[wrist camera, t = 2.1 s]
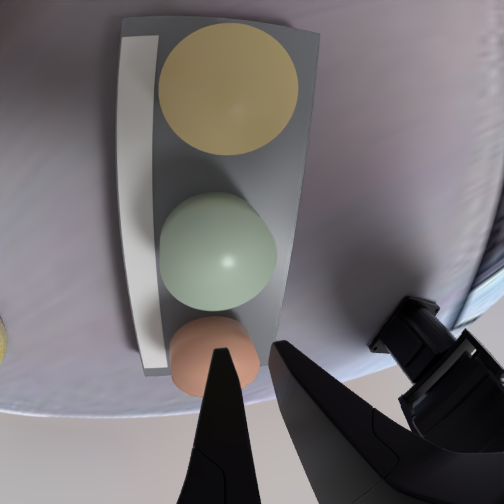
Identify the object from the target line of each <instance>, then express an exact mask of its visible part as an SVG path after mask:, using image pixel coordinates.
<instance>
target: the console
mask: <svg viewBox="0 0 504 504" xmlns="http://www.w3.org/2000/svg"><path fill="white" fill-rule="evenodd" d="M221 23H239V24H245V25H249V26H252V27H255V28H257V29H260V30H262V31H264V32H266V33H267V34H269V35H270V36H272V37H273V38H274V39H275V40H277V41H278V42H279V43H280V44H281V45H282V46H283V47H284V49H285V50H286V51H287V53H288V54H289V56H290V58H291V60H292V62H293V64H294V67H295V69H296V73H297V78H298V98H297V103H296V106H295V110H294V112H293V114H292V117H291V119H290V120H289V122H288V123H287V125H286V126H285V128H284V129H283V130H282V131H281V133H279V134H278V135H277V136H276V137H275V138H274V139H273V140H271V141H270V142H269V143H267V144H266V145H264V146H262V147H260V148H258V149H256V150H254V151H251V152H247V153H244V154H238V155H216V154H211V153H207V152H204V151H201V150H199V149H197V148H194V147H192V146H191V145H189V144H188V143H186V142H185V141H183V140H182V139H181V138H180V137H179V136H178V135H177V134H176V133H175V132H174V131H173V130H172V129H171V127H170V126H169V124H168V123H167V121H166V119H165V117H164V115H163V112H162V109H161V106H160V101H159V79H160V75H161V71H162V68H163V66H164V63H165V61H166V59H167V58H168V56H169V54H170V53H171V52H172V50H173V49H174V48H175V47H176V46H177V45H178V44H179V43H180V42H181V41H182V40H183V39H184V38H186V37H187V36H188V35H190V34H191V33H193V32H195V31H197V30H199V29H201V28H204V27H207V26H210V25H215V24H221ZM319 40H320V34H318V33H314V32H310V31H306V30H301V29H296V28H291V27H286V26H281V25H275V24H269V23H263V22H256V21H248V20H240V19H230V18H219V17H203V16H141V17H126V18H123V19H122V26H121V34H120V44H119V54H118V66H117V81H116V103H115V163H116V186H117V202H118V215H119V226H120V236H121V246H122V254H123V262H124V270H125V277H126V283H127V290H128V296H129V302H130V308H131V314H132V319H133V324H134V329H135V334H136V339H137V344H138V349H139V353H140V358H141V362H142V366H143V370H144V374H145V376H165V375H171V364H170V352H169V345H170V341H171V339H172V337H173V335H174V334H175V333H176V331H177V330H179V329H180V328H181V327H182V326H184V325H185V324H187V323H189V322H191V321H193V320H196V319H199V318H203V317H210V316H221V317H227V318H231V319H234V320H236V321H238V322H240V323H241V324H243V325H244V326H245V327H246V328H247V329H248V331H249V333H250V336H251V338H252V341H253V344H254V347H255V349H256V352H257V355H258V358H259V360H260V366H265V365H268V359H269V354H270V349H271V344H272V343H273V342H274V341H275V340H276V335H277V330H278V325H279V319H280V314H281V309H282V303H283V298H284V292H285V287H286V281H287V275H288V269H289V264H290V258H291V252H292V246H293V240H294V233H295V227H296V221H297V214H298V208H299V201H300V195H301V188H302V181H303V174H304V167H305V160H306V152H307V145H308V137H309V130H310V122H311V114H312V105H313V97H314V88H315V79H316V70H317V60H318V50H319ZM206 192H225V193H230V194H233V195H236V196H238V197H240V198H242V199H243V200H245V201H246V202H248V203H249V204H250V205H251V206H252V207H253V208H254V209H255V211H256V212H257V213H258V215H259V216H260V217H261V219H262V220H263V222H264V223H265V224H266V226H267V227H268V229H269V230H270V232H271V234H272V235H273V238H274V240H275V244H276V248H277V261H276V266H275V269H274V272H273V275H272V276H271V278H270V280H269V282H268V283H267V285H266V286H265V287H264V288H263V289H262V291H261V292H259V293H258V294H257V295H256V296H255V297H254V298H252V299H251V300H249V301H247V302H246V303H244V304H242V305H240V306H237V307H234V308H231V309H227V310H220V311H205V310H199V309H195V308H192V307H190V306H187V305H185V304H183V303H182V302H180V301H179V300H177V299H176V298H175V297H174V296H173V295H172V294H171V293H170V292H169V291H168V289H167V288H166V286H165V284H164V282H163V280H162V277H161V274H160V267H159V261H160V235H161V231H162V227H163V225H164V223H165V221H166V219H167V217H168V216H169V214H170V213H171V212H172V211H173V210H174V209H175V208H176V207H177V206H178V205H179V204H180V203H182V202H183V201H185V200H186V199H188V198H190V197H192V196H195V195H198V194H201V193H206Z"/></svg>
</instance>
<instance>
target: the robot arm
mask: <svg viewBox="0 0 504 504" xmlns="http://www.w3.org/2000/svg"><path fill="white" fill-rule="evenodd" d="M439 310H440V307H439V306H438V305H437V304H433V303H430V302H427V301H424V300H420V299H417V298H414V297H411V296H407V297H405V298H404V300H403V301H402V302H401V304H400V305H399V307H398V308H397V310H396V311H395V313H394V314H393V315H392V317H391V318H390V320H389V321H388V322H387V324H386V325H385V326H384V328H383V329H382V330H381V332H380V333H379V334H378V336H377V337H376V338H375V340H374V341H373V342H372V344H371V345H370V346H369V350H370V351H371V352H373V353H387V354H391V356H392V357H393V358H394V360H395V361H396V362H397V364H398V365H399V366H400V368H401V369H402V370H403V372H404V373H405V374H406V376H407V377H408V379H409V380H410V381H411V383H412V384H413V386H412V387H411V388H410V389H409V390H408V391H407V392H406V393H405V394H404V395H401V396H400V397H399V398H398V400H399V402H400V404H401V409H402V411H403V413H404V415H405V418H406V420H407V422H408V424H409V427H410V429H411V431H412V432H411V431H409V430H407V429H405V428H404V427H402V426H401V425H399V424H397V423H396V422H394V421H393V420H391V419H390V418H388V417H387V416H385V415H384V414H383V413H381V412H380V411H378V410H377V409H376V408H373V407H372V406H371V405H370V404H369V403H367V402H366V401H365V400H363V399H362V398H361V397H359V396H358V395H357V394H355V393H354V392H352V391H351V390H350V389H348V388H347V387H346V386H345V385H343V384H342V383H341V382H339V381H338V380H337V379H335V378H334V377H333V376H331V375H330V374H329V373H327V372H326V371H325V370H324V369H322V368H321V367H320V366H318V365H317V364H316V363H315V362H313V361H312V360H311V359H309V358H308V357H307V356H306V355H304V354H303V353H302V352H301V351H299V350H298V349H297V348H295V347H294V346H293V345H292V344H290V343H289V342H288V341H286V340H281V341H274V342H273V343H272V344H271V349H270V354H269V359H268V365H269V370H270V374H271V378H272V382H273V386H274V390H275V394H276V398H277V401H278V405H279V408H280V412H281V414H282V417H283V420H284V422H285V425H286V427H287V429H288V432H289V434H290V437H291V439H292V442H293V444H294V446H295V449H296V451H297V453H298V456H299V458H300V460H301V463H302V465H303V468H304V470H305V473H306V475H307V477H308V479H309V482H310V484H311V486H312V489H313V491H314V493H315V496H316V498H317V500H318V502H319V504H504V369H503V367H502V366H501V365H500V364H499V363H498V362H497V360H496V359H495V358H494V357H493V355H492V354H491V353H490V352H489V351H488V350H487V349H486V348H485V347H484V346H483V345H482V344H481V342H480V341H479V340H478V339H477V338H476V337H474V336H473V335H472V334H471V333H470V332H469V331H468V330H467V329H466V328H465V329H464V330H463V332H462V334H461V335H460V337H459V338H458V339H456V338H455V337H454V336H453V335H452V333H451V332H450V331H449V330H448V329H447V328H446V327H445V326H444V325H443V324H442V323H441V322H440V321H439V320H438V319H437V318H436V317H435V316H436V314H437V313H438V311H439ZM474 349H476V350H477V351H476V352H475V353H474V354H473V355H471V353H472V352H473V350H474ZM176 504H261V500H260V495H259V489H258V484H257V478H256V473H255V467H254V462H253V456H252V451H251V445H250V439H249V433H248V428H247V421H246V415H245V409H244V403H243V396H242V390H241V384H240V380H239V377H238V374H237V371H236V368H235V366H234V363H233V360H232V357H231V354H230V351H229V349H228V348H227V347H222V348H215V349H214V350H213V353H212V358H211V362H210V367H209V371H208V376H207V381H206V385H205V390H204V395H203V400H202V404H201V409H200V414H199V419H198V424H197V428H196V433H195V438H194V443H193V448H192V452H191V457H190V462H189V466H188V470H187V474H186V478H185V481H184V484H183V487H182V490H181V493H180V495H179V498H178V501H177V503H176Z"/></svg>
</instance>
